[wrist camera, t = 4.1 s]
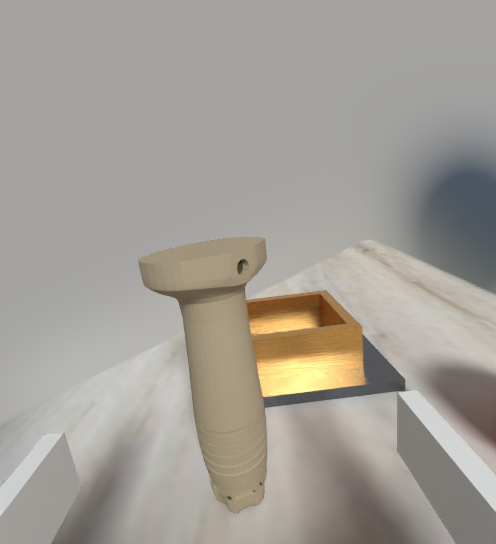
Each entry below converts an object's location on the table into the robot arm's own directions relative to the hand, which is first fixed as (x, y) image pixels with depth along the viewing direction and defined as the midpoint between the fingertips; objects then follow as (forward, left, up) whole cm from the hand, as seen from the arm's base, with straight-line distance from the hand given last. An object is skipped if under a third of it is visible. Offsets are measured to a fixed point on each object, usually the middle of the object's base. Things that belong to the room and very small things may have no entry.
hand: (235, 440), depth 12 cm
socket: (+5, +20, -8) cm, 22 cm away
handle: (-1, +5, -8) cm, 9 cm away
